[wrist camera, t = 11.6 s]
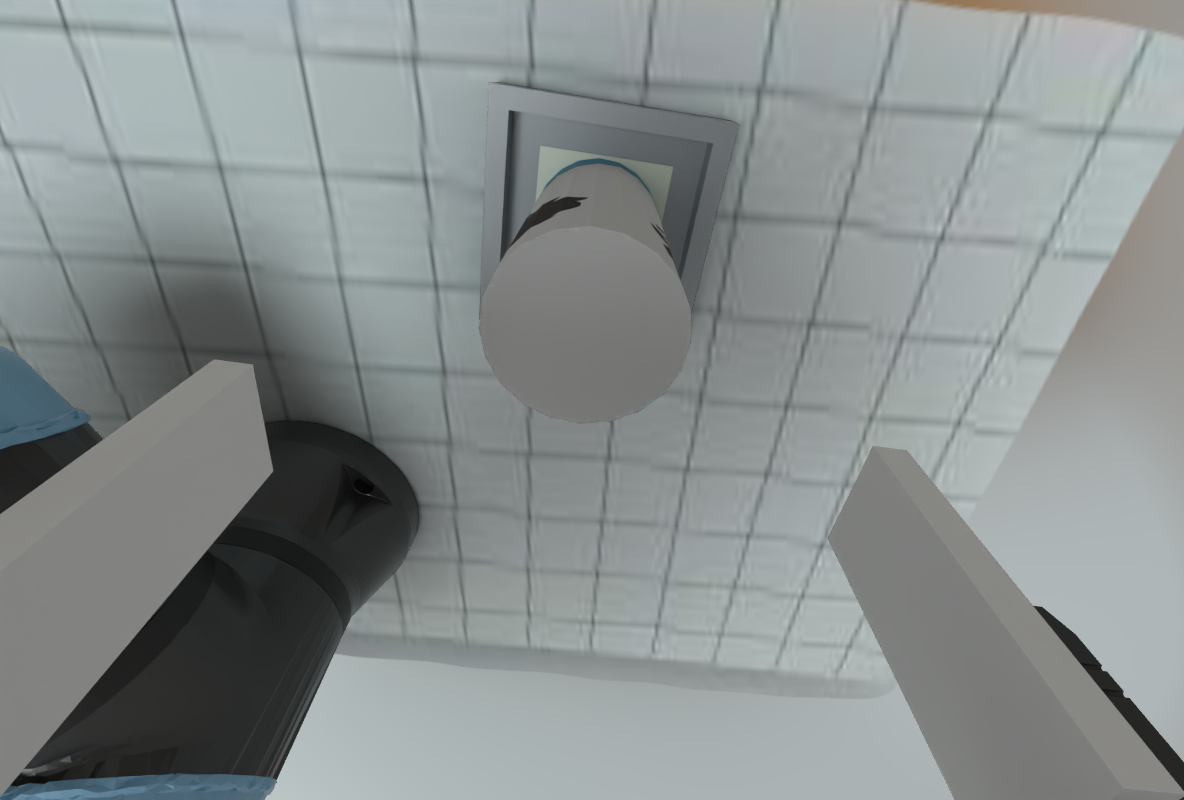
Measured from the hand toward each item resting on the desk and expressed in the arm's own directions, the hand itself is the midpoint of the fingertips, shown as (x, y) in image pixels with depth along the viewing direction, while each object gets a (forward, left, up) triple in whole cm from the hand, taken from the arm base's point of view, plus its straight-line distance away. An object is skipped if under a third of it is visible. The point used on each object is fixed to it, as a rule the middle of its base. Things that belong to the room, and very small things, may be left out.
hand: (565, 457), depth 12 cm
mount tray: (0, 0, -22) cm, 22 cm away
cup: (0, 0, -22) cm, 22 cm away
